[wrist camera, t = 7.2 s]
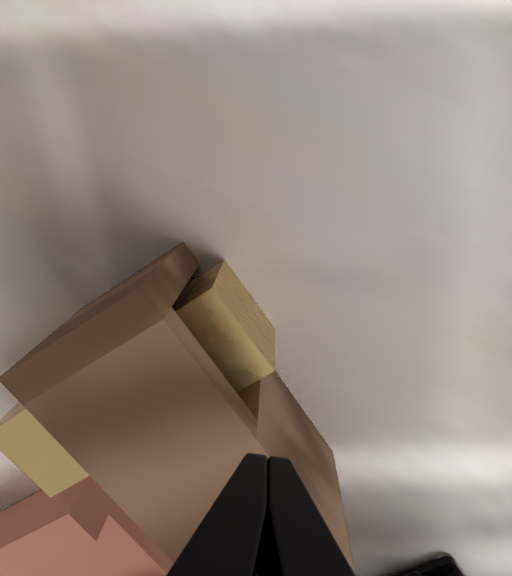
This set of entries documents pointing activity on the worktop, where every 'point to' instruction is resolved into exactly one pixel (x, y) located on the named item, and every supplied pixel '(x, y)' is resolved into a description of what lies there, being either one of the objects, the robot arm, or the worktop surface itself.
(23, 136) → the worktop surface
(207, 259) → the worktop surface
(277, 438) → the walnut beam
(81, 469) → the brass block
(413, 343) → the worktop surface
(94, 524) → the rust cradle
